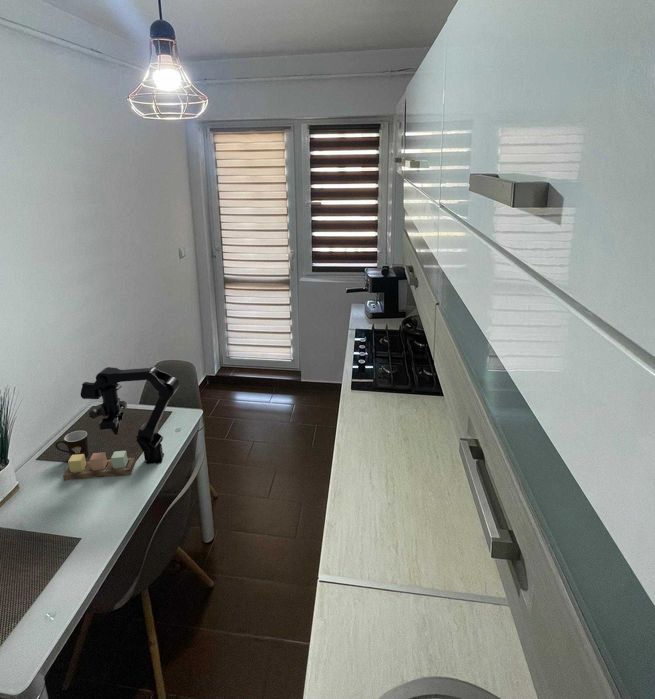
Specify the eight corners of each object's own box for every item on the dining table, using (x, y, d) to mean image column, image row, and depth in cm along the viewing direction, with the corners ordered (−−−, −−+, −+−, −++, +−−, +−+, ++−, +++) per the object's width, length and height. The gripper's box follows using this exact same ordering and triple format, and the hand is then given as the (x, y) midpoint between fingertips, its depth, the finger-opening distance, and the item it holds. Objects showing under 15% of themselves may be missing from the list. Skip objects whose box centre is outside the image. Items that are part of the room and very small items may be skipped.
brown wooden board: (135, 462, 202) (134, 457, 201) (130, 474, 194) (129, 469, 193) (71, 467, 199) (70, 462, 198) (63, 480, 191) (62, 475, 190)
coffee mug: (95, 451, 210) (91, 431, 206) (84, 463, 202) (79, 442, 198) (69, 450, 211) (65, 429, 207) (57, 461, 203) (52, 440, 199)
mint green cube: (128, 461, 199) (126, 450, 197) (125, 467, 195) (123, 457, 193) (116, 462, 198) (114, 451, 196) (113, 468, 194) (111, 458, 192)
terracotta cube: (107, 462, 198) (105, 452, 196) (104, 469, 194) (101, 458, 192) (95, 463, 197) (93, 453, 196) (92, 470, 193) (89, 459, 191)
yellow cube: (86, 464, 197) (84, 453, 195) (82, 471, 193) (80, 460, 191) (74, 465, 196) (72, 454, 195) (70, 472, 192) (67, 461, 190)
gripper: (96, 390, 202) (102, 423, 208) (81, 411, 185) (89, 447, 191) (124, 388, 204) (130, 421, 209) (112, 409, 187) (118, 444, 192)
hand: (116, 433), depth 200 cm, fingers closed
